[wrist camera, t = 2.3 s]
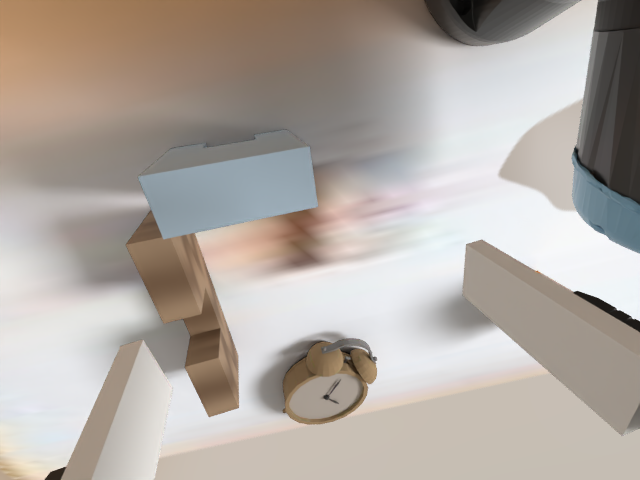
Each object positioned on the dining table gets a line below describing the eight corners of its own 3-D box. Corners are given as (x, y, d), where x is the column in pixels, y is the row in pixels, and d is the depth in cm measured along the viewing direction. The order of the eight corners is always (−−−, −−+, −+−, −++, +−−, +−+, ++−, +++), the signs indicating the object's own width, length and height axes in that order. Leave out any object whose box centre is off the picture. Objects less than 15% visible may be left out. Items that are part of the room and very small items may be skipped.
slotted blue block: (186, 193, 28) (163, 239, 19) (170, 148, 26) (137, 176, 17) (293, 172, 29) (318, 206, 20) (286, 129, 27) (309, 146, 19)
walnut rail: (150, 211, 27) (125, 244, 21) (184, 204, 28) (169, 235, 22) (213, 363, 37) (208, 417, 31) (238, 356, 37) (238, 408, 31)
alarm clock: (269, 422, 40) (325, 355, 33) (269, 386, 44) (318, 320, 37) (341, 428, 44) (402, 370, 38) (334, 395, 48) (388, 337, 42)
